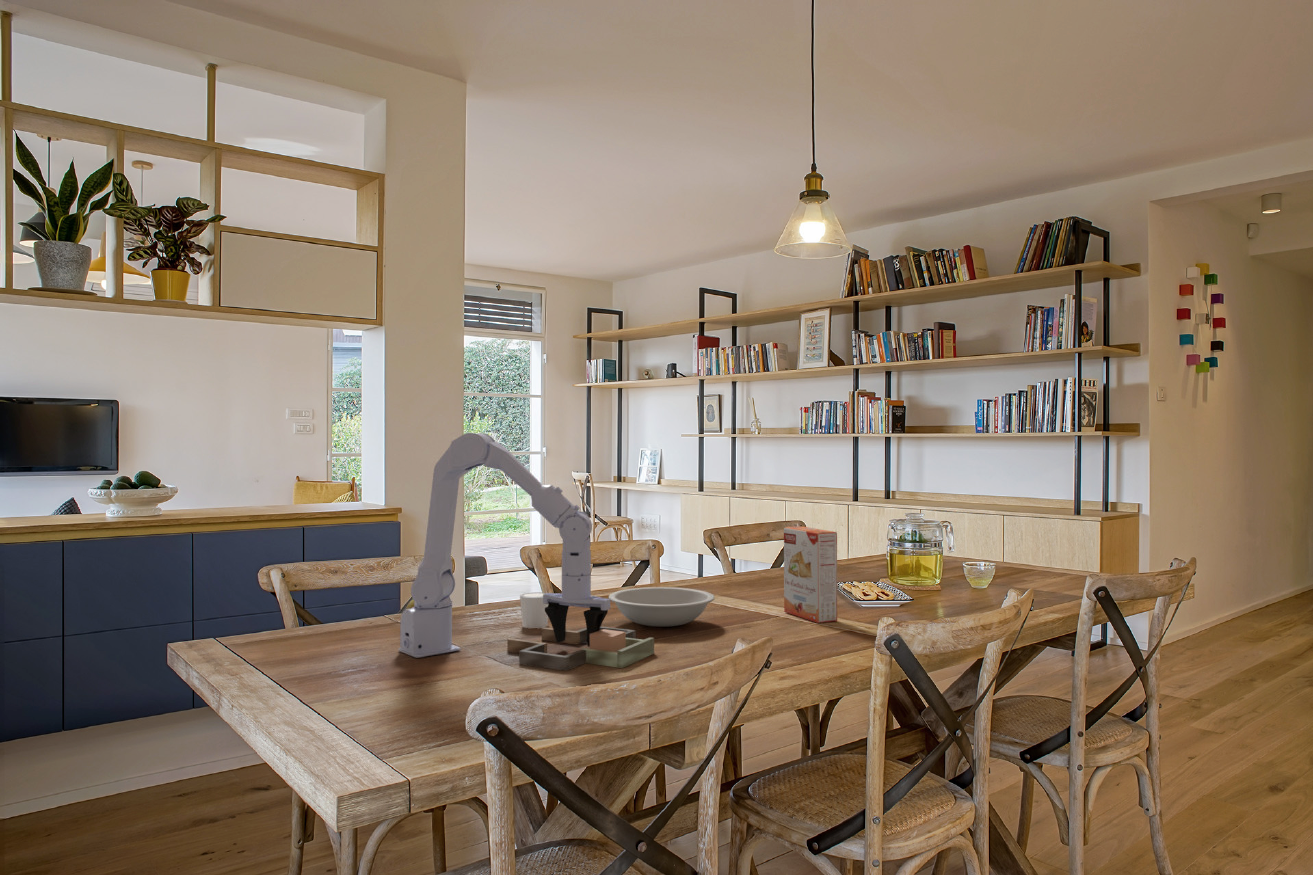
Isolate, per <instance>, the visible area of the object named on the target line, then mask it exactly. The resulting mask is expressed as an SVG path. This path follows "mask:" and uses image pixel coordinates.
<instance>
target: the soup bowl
mask: <svg viewBox="0 0 1313 875" xmlns="http://www.w3.org/2000/svg"><path fill="white" fill-rule="evenodd" d="M607 599H610V602H612V603H615V606H616V608H617V609H618V610H619V612H620V613H621V614H622V615H623V616H624V617H625V618H626V619H627V620H629V621H631V622H633V623H634V624H637V625H642V626H647V627H659V628H661V627H662V628H663V627H664V628H665V627H667V628H668V627H677V626H683V625H686V624H688V623H689V624H690V623H691V622H693V621H694V620H696V619H697V618H698V617H700V615H702V613H703V612H704V611H705V609H706V608H707V607H708V605H709V604H710V603H712V602H713V601H714V600H715V595H714V594H712V593H711V592H708V591H705V590H699V589H695V588H694V589H693V588H687V587H686V588H685V587H672V586H671V587H666V586H665V587H664V586H663V587H662V586H658V587H657V586H656V587H654V586H652V587H651V586H649V587H648V586H647V587H636V588H635V587H634V588H628V589H622V590H618V591H615V592H611V593H610V594H609V595H608V598H607Z"/></svg>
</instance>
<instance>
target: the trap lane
mask: <svg viewBox="0 0 1313 875" xmlns="http://www.w3.org/2000/svg"><path fill="white" fill-rule="evenodd" d="M603 629H607V630H614V631H622V632H626V648H623V649H621V650H618V651H617V653H616V652H609V651H601V650H594V649H590V648H581V649H578V650H577V651H574V652H570V653H568V654H566V655H563V654H562V655H561V654H554V653H548V643H547V642H555V643H557V642H556V638H555V634H554V630H553V627H552V628H551V627H544V628H541V641H546V642H539V641H533V640H526V639H519V638H518V639H517V638H512V637H511V638H508V639H507V642H506V643H507V652H508V653H514V654H515V653H516V654H518V655H519V658H518V663H519V665H523V666H530V667H537V668H542V667H543V669H549V670H550V669H552V670H556V669H558V671H562V670H563V671H564V672H567V670H568V671H570V670H572V669H574V667H575V668H577V667H580V666H581V665H584V664H590V665H591V664H592V665H598V666H605V667H611V668H618V669H619V668H620V669H623V668H625V667H627V666H630V665H633V664H634V663H636V662H638V661H641V660H643V659H645V658H648V657H649V656H651V655H654V654H655V638H654V637H647V638H645V639H641V638H640V639H639V638H636V630H633V629H627V628H617V627H610V626H609V627H608V626H603V625H601V627H600V630H603ZM600 630H599V631H600ZM560 643H563V644H570V645H580V644H582V645H587V627H584V628H582V629H579V630H568V629H566V636H565V641H562V642H560ZM579 665H580V666H579ZM569 669H570V670H569ZM563 671H562V672H563Z"/></svg>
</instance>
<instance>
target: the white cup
mask: <svg viewBox="0 0 1313 875" xmlns="http://www.w3.org/2000/svg"><path fill="white" fill-rule="evenodd" d="M546 593H547V592H527V593H522V594H520V595H519V599H520V613H521V623H522V624H521V625H522V627H523V628H524V629H531V628H537V629H542V628H544V627H545V628H548V626H549V617H548V616H547V614H546V612H545V607H548V605H549V604H543V594H546Z"/></svg>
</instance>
